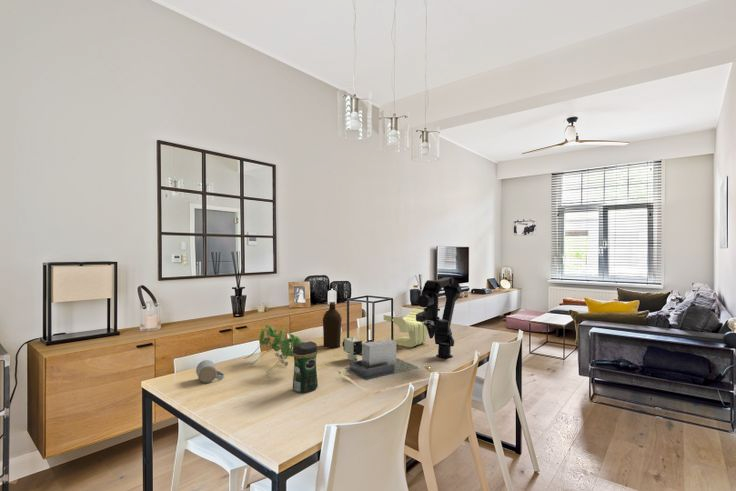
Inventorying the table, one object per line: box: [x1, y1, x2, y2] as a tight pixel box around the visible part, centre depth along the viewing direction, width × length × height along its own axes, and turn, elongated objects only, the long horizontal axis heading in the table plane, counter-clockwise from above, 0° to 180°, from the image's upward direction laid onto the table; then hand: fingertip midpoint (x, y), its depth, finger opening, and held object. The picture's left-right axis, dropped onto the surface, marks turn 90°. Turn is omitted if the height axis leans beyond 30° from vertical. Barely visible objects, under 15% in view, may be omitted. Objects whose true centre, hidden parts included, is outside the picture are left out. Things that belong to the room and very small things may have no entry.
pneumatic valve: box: [341, 337, 363, 362], centre depth 183 cm, size 6×12×12 cm, turn 39°
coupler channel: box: [344, 357, 420, 381], centre depth 170 cm, size 30×18×4 cm, turn 123°
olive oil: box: [322, 301, 343, 349], centre depth 210 cm, size 11×11×25 cm
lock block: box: [361, 338, 397, 369], centre depth 170 cm, size 16×6×12 cm, turn 123°
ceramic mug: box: [195, 359, 225, 384], centre depth 156 cm, size 11×8×8 cm
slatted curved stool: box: [383, 308, 428, 348], centre depth 217 cm, size 30×16×18 cm, turn 139°
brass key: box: [424, 365, 435, 373], centre depth 169 cm, size 8×3×1 cm, turn 11°
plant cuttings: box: [243, 324, 305, 377], centre depth 172 cm, size 35×17×22 cm
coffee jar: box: [292, 340, 318, 394], centre depth 147 cm, size 10×8×19 cm
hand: (431, 338), depth 179 cm, fingers closed
